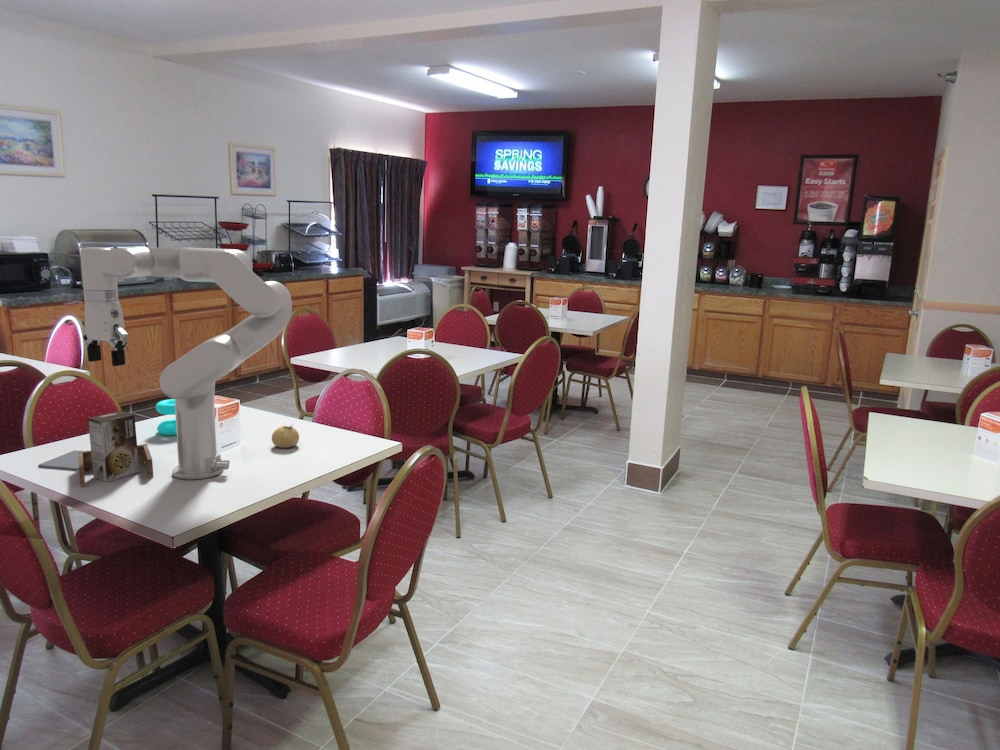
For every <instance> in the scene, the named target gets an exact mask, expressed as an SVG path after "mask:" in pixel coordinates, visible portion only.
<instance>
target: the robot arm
mask: <svg viewBox="0 0 1000 750" xmlns="http://www.w3.org/2000/svg"><path fill="white" fill-rule="evenodd" d="M80 263H81V273H82V285H83V286H82V287H83V297H84V325H83V326H82V327H81V332H82V335H83V336H82V338H83V339H84V342H85V346H86V349H87V350H86V351H87V360H88V362H89V363H90V362H91V363H92V362H98V361H99V362H100V361H102V351H101V345H100V342H101V343H109V346H111V349H112V350H110V352H111V353H110V354H111V366H112V367H117V366H123V365H124V366H125V365H126V354H125V350H126V349H127V348H126V347H127V345H128V337H129V333H127V332H126V327H125V319H124V313H123V310H122V305H121V303H120V301H119V290H118V288H119V287H118V278H119V279H120V278H121V279H132V278H138V277H170V278H171V277H172V278H179V279H181V280H183V281H185V282H193V283H194V282H196V283H197V282H199V283H215V284H216V285H218V287H219V288H220V289H221V290H223V291H224V292H225V294H227V295H228V296H229V297H230V299H232V300H234V302H236V303H237V304H238V305H239V306H240V307H241V308H242V309H244V311H246V312H247V313H249V314H250V315H249V316H248V317H245V319H243V320H242V321H240V322H239V323H238V324H237V325H235V326H233V327H232V328H230V329H229V330H226V331H225V332H223V333H222V334H219V335H217V336H214V337H211V338H209V339H207V340H205V341H204V342H202V343H200V344H199V345H196V347H194V348H193V349H191V350H189V351H188V352H187V353H185V354H184V355H182V356H180V357H179V358H178V359H176V360H175V361H172V363H170V364H168V365H167V366H166V367H165V368H164V369H163V370H162V371H161V374H160V377H159V386H160V390H161V391H162V393H163V394H164V395H165V396H166V397H168V398H169V399H175V400H176V401H175V414H176V415H175V419H176V432H177V435H176V444H177V445H176V446H177V459H178V461H177V463H178V465H176V466H175V467H173V469H172V476H173V477H175V478H176V479H181V480H202V479H208V478H211V477H216V476H217V475H219V474H221V473H222V472H224V470H225V471H229V468H230V463H231V462H230V459H229V460H228V459H222V458H221V456H222V455H221V454H220V453H217V435H216V416H215V415H216V414H215V412H216V410H215V391H216V390H215V389H216V382H217V381H218V380H220V379H222V378H223V377H224V376H226V375H228V374H230V373H231V372H232V371H233V370H235V369H236V368H238V367H239V366H240V365H241V364H242V363H244V362H245V360H247V359H249V358H250V357H251V356H253V355H254V354H256V353H257V352H259V351H260V350H262V349H263V348H265V347H266V346H267V345H269V344H270V343H271V342H273V340H275V339H276V338H277V337H279V336H280V335H281V334H282V332H283V331H284V330H285V328H286V327H287V325H288V324H289V322H290V319H291V316H292V311H293V302H292V301H293V300H292V296H291V293H290V291H289V290H288V288H287V286H285V285H284V284H283V283H280V282H278V281H275V280H269V281H267V280H266V281H264V280H263V279H261V277H260V276H258V275H257V274H256V273H255V272H254V271H253V268H254V267H253V261H252V259H251V257H250V255H249V254H248V253H247V252H245V251H243V250H240V249H234V248H210V247H209V248H205V247H204V248H203V247H177V248H174V247H173V248H172V247H148V246H146V247H145V246H129V247H119V248H110V247H103V246H101V247H100V246H98V247H97V246H95V247H94V246H93V247H92V246H89V247H88V246H87V247H84V248H82V249H81V250H80Z"/></svg>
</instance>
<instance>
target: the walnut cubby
mask: <svg viewBox="0 0 1000 750" xmlns="http://www.w3.org/2000/svg"><path fill="white" fill-rule="evenodd" d="M137 450H138V461H139V464H144V466H145V469H146V472H147V476H148V478H149V479H151V478H154V468H153V467H154V466H153V457H152V455H151V452H150V448H149V446H148V444H147V443H146V444H145V443H144V444H137ZM81 451H82V452H78V460H79V471H78V473H79V474H78V475H79V486H80V488H83V487H82V486H85V487H86V480H85V479H86V477H85V476H86V475H85V471H90V470H89V469H91V470H93V465H92V455H91V450H81ZM144 462H145V463H144Z"/></svg>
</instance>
